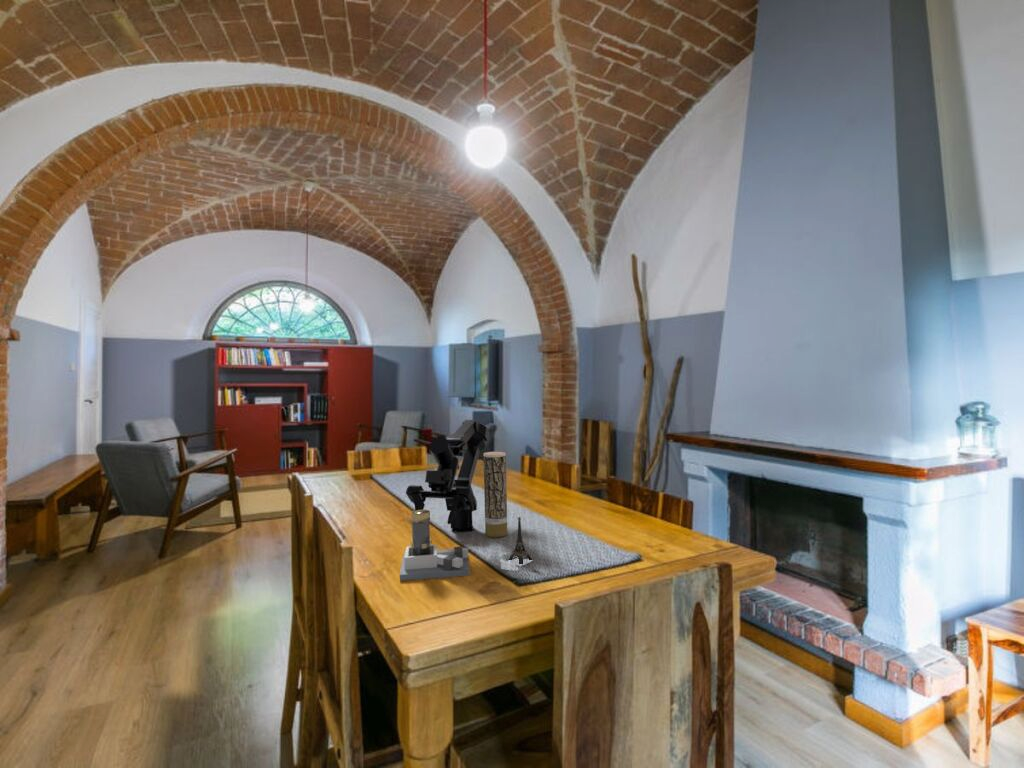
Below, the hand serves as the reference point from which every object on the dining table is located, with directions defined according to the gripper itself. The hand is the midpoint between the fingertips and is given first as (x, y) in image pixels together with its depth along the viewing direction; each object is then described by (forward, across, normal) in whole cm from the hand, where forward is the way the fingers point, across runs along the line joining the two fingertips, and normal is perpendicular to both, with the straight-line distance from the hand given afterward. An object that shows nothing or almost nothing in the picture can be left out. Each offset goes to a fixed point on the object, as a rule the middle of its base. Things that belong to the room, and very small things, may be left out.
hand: (432, 522), depth 138 cm
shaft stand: (+11, +3, +2) cm, 12 cm away
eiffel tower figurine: (+6, +23, +8) cm, 26 cm away
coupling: (+11, 0, 0) cm, 11 cm away
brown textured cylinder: (-8, +12, +22) cm, 26 cm away
